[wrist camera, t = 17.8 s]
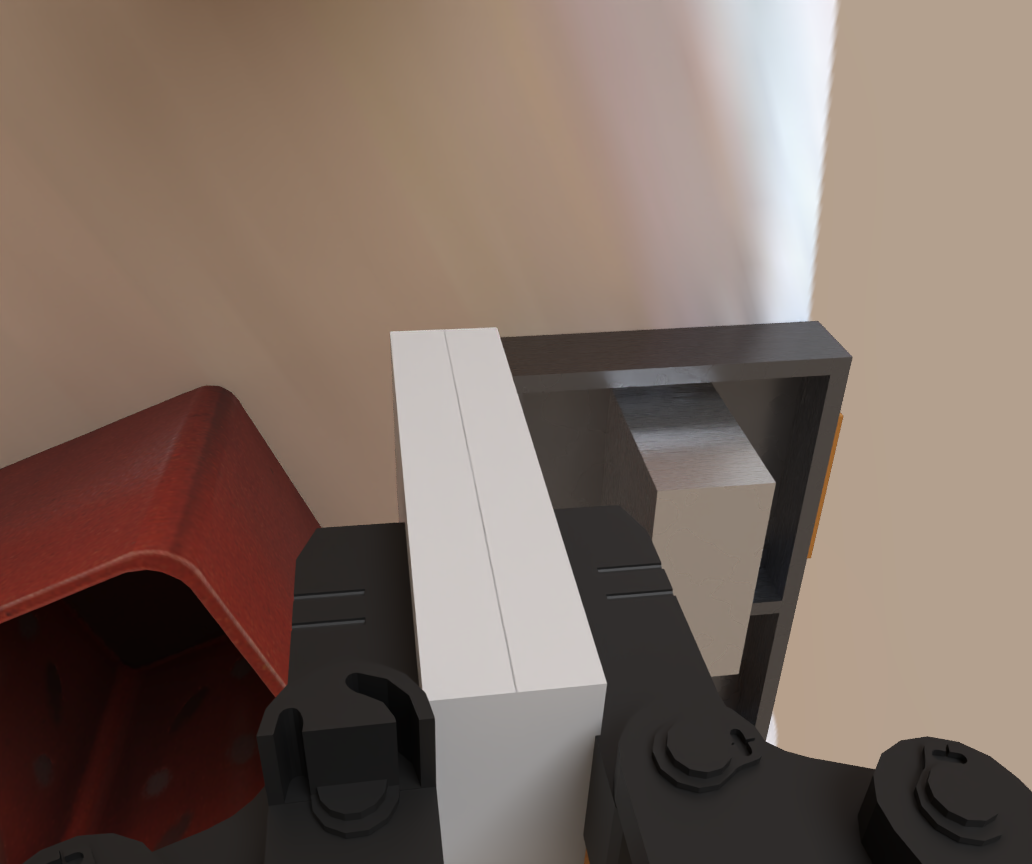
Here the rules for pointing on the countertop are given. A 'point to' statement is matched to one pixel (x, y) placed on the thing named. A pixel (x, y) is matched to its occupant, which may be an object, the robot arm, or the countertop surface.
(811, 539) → the tray
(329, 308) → the countertop surface
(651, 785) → the robot arm
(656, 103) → the countertop surface
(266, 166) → the countertop surface
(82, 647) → the plant pot
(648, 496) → the plain grey rectangular box
